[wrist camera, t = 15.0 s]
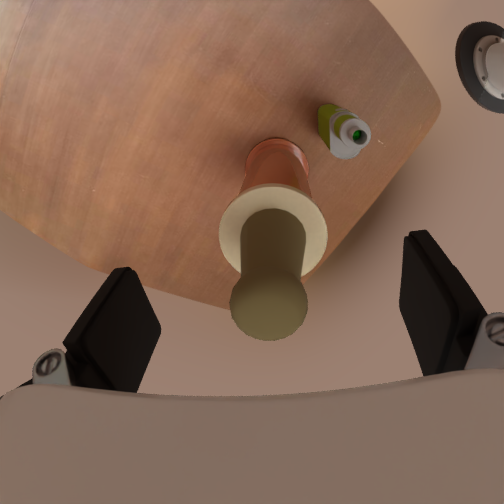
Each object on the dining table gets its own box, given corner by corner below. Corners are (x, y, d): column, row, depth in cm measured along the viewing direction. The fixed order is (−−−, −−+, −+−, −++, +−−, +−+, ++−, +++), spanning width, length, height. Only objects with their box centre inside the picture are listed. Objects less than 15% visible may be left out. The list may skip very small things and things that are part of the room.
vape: (340, 103, 43) (378, 117, 26) (341, 140, 46) (377, 177, 29) (317, 103, 44) (340, 116, 26) (318, 140, 47) (340, 177, 29)
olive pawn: (317, 249, 29) (331, 334, 20) (262, 276, 31) (252, 363, 22) (285, 196, 27) (286, 267, 17) (227, 228, 29) (200, 306, 19)
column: (318, 152, 48) (346, 212, 27) (293, 205, 53) (300, 295, 32) (258, 128, 47) (239, 169, 26) (237, 184, 52) (206, 263, 31)
